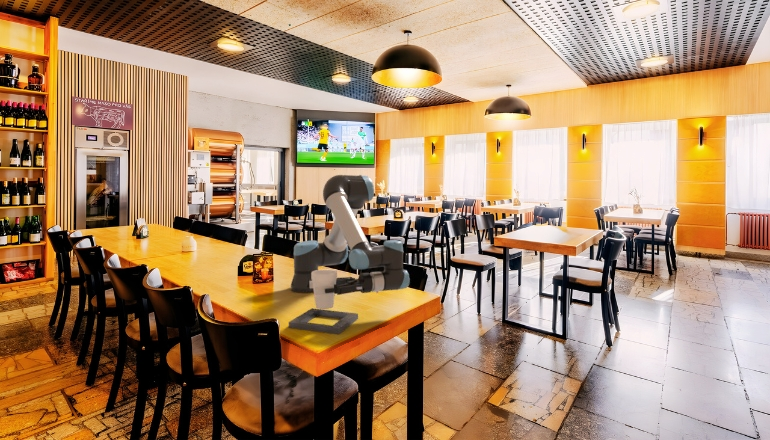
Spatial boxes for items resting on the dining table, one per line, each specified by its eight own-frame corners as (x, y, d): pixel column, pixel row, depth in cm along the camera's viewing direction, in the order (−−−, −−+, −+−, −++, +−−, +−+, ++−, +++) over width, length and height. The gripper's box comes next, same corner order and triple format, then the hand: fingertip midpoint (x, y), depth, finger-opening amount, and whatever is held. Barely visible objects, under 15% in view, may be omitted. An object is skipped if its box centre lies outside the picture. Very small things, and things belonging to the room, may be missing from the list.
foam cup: (313, 303, 152) (312, 269, 151) (337, 302, 152) (337, 269, 151) (310, 310, 142) (310, 275, 141) (336, 310, 143) (336, 274, 142)
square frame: (288, 327, 143) (288, 322, 143) (311, 313, 159) (311, 308, 159) (339, 334, 137) (339, 328, 137) (358, 318, 153) (358, 313, 153)
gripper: (380, 299, 143) (318, 306, 135) (361, 285, 164) (307, 290, 156) (380, 278, 143) (318, 284, 135) (361, 267, 163) (306, 271, 155)
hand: (312, 287), depth 145 cm, fingers closed on foam cup, 9 cm apart
